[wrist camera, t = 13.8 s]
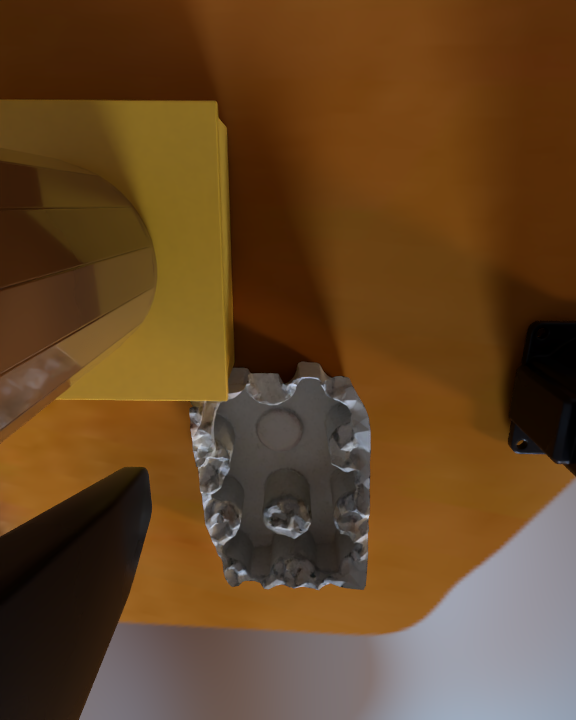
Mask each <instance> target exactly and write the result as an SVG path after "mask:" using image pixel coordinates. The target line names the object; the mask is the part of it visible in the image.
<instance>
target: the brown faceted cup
mask: <svg viewBox="0 0 576 720" xmlns="http://www.w3.org/2000/svg"><path fill="white" fill-rule="evenodd" d="M156 285H157V262H156V255H155V250H154V247H153V243H152V240H151V237H150V235H149V232H148V230H147V227H146V225H145V224H144V222H143V220H142V218H141V217H140V215H139V213H138V212H137V211H136V209H135V208H134V206H133V205H132V204H131V202H130V201H129V200H128V199H127V198H126V197H125V196H124V195H123V194H122V193H121V192H120V191H119V190H118V189H117V188H116V187H114V186H113V185H112V184H111V183H110V182H108V181H107V180H105V179H104V178H102V177H100V176H99V175H97V174H95V173H93V172H91V171H89V170H87V169H85V168H82V167H80V166H77V165H74V164H70V163H67V162H65V161H63V160H60V159H56V158H51V157H46V156H41V155H36V154H30V153H25V152H20V151H15V150H10V149H5V148H0V444H1V443H2V442H3V441H4V440H5V439H7V438H8V437H9V436H10V435H12V434H13V433H14V432H15V431H17V430H18V429H19V428H20V427H22V426H23V425H24V424H25V423H26V422H28V421H29V420H30V419H31V418H33V417H34V416H35V415H36V414H38V413H39V412H40V411H41V410H43V409H44V408H45V407H46V406H47V405H49V404H50V403H51V402H52V401H54V400H55V399H56V398H57V397H59V396H60V395H61V394H62V393H64V392H65V391H66V390H67V389H68V388H70V387H71V386H72V385H73V384H75V383H76V382H77V381H78V380H80V379H81V378H82V377H83V376H84V375H86V374H87V373H88V372H89V371H91V370H92V369H93V368H94V367H96V366H97V365H98V364H99V363H101V362H102V361H103V360H104V359H105V358H107V357H108V356H109V355H110V354H112V353H113V352H114V351H115V350H117V349H118V348H119V347H120V346H121V345H122V344H123V343H124V342H125V341H126V340H127V339H128V338H129V337H130V336H131V335H132V334H133V333H134V332H135V331H136V330H137V329H138V328H139V326H140V325H141V324H142V323H143V321H144V319H145V318H146V316H147V314H148V313H149V310H150V308H151V305H152V303H153V300H154V296H155V292H156Z"/></svg>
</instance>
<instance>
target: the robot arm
mask: <svg viewBox="0 0 576 720" xmlns="http://www.w3.org/2000/svg"><path fill="white" fill-rule="evenodd" d="M542 328H544V333H543V335H541V336H539V337H537V333H538V331H539V330H540V329H542ZM509 417H510V419H511V420H512V421H511V426H510V432H509V438H508V445H509V446H510V448H511V449H512V450H513V451H514V452H516V453H519V454H546V455H547V456H548V457H549V458H550V459H551V460H552V461H554V462H555V463H556V464H563V465H564V466H565V467H566V468H567V469H568V470H569V471H570V472H572V473H573V474H574V475H575V476H576V321H541V320H540V321H536V322H534V323H532V324H531V325H530V326H529V328H528V331H527V335H526V341H525V347H524V352H523V358H522V364H521V366H520V367H519V368H518V369H517V372H516V377H515V383H514V389H513V395H512V401H511V406H510V412H509ZM520 440H524V441H523V443H522V444H521V445H517V443H518V442H519V441H520ZM151 512H152V502H151V492H150V483H149V474H148V471H147V469H146V468H144V467H124V468H122V469H120V470H118V471H116V472H115V473H113V474H111V475H109V476H108V477H106V478H104V479H102V480H100V481H99V482H97V483H95V484H93V485H92V486H90V487H88V488H86V489H84V490H83V491H81V492H79V493H77V494H76V495H74V496H72V497H70V498H68V499H67V500H65V501H63V502H61V503H59V504H58V505H56V506H54V507H52V508H51V509H49V510H47V511H45V512H43V513H42V514H40V515H38V516H36V517H35V518H33V519H31V520H29V521H27V522H26V523H24V524H22V525H20V526H19V527H17V528H15V529H13V530H11V531H10V532H8V533H6V534H4V535H3V536H1V537H0V720H79V718H80V715H81V713H82V710H83V708H84V705H85V703H86V701H87V698H88V696H89V693H90V691H91V688H92V685H93V683H94V681H95V678H96V676H97V673H98V671H99V668H100V666H101V663H102V661H103V658H104V656H105V653H106V651H107V648H108V646H109V643H110V641H111V638H112V636H113V634H114V631H115V628H116V626H117V624H118V621H119V619H120V616H121V614H122V611H123V609H124V606H125V604H126V601H127V598H128V595H129V593H130V590H131V586H132V583H133V580H134V576H135V572H136V569H137V565H138V562H139V558H140V554H141V551H142V547H143V544H144V540H145V536H146V533H147V529H148V526H149V522H150V518H151Z"/></svg>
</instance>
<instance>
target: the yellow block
mask: <svg viewBox="0 0 576 720" xmlns="http://www.w3.org/2000/svg"><path fill="white" fill-rule="evenodd" d="M0 148H5V149H10V150H15V151H20V152H25V153H30V154H36V155H41V156H46V157H51V158H56V159H60V160H63V161H65V162H67V163H70V164H74V165H77V166H80V167H82V168H85V169H87V170H89V171H91V172H93V173H95V174H97V175H99V176H100V177H102V178H104V179H105V180H107V181H108V182H110V183H111V184H112V185H113V186H114V187H116V188H117V189H118V190H119V191H120V192H121V193H122V194H123V195H124V196H125V197H126V198H127V199H128V200H129V201H130V202H131V204H132V205H133V206H134V208H135V209H136V211H137V212H138V213H139V215H140V217H141V218H142V220H143V222H144V224H145V225H146V227H147V230H148V232H149V235H150V237H151V240H152V243H153V247H154V250H155V255H156V262H157V285H156V292H155V296H154V300H153V303H152V305H151V308H150V310H149V313H148V314H147V316H146V318H145V319H144V321H143V323H142V324H141V325H140V326H139V328H138V329H137V330H136V331H135V332H134V333H133V334H132V335H131V336H130V337H129V338H128V339H127V340H126V341H125V342H124V343H123V344H122V345H121V346H120V347H119V348H118V349H117V350H115V351H114V352H113V353H112V354H110V355H109V356H108V357H107V358H105V359H104V360H103V361H102V362H101V363H99V364H98V365H97V366H96V367H94V368H93V369H92V370H91V371H89V372H88V373H87V374H86V375H84V376H83V377H82V378H81V379H80V380H78V381H77V382H76V383H75V384H73V385H72V386H71V387H70V388H68V389H67V390H66V391H65V392H64V393H62V394H61V395H60V396H59V397H57V398H56V399H80V400H165V401H227V400H228V397H229V395H228V379H229V376H230V373H231V371H232V368H233V366H234V363H235V360H234V328H233V296H232V265H231V233H230V201H229V170H228V138H227V127H226V126H225V125H224V124H223V122H222V121H221V120H220V119H219V118H218V103H217V102H216V101H215V100H20V99H0Z"/></svg>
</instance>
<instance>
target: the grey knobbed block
mask: <svg viewBox="0 0 576 720" xmlns="http://www.w3.org/2000/svg"><path fill="white" fill-rule="evenodd" d="M228 395H229V397H228V400H227V401H190V402H191V404H192V406H193V407H191V408H190V411H189V414H190V420H191V426H190V429H191V437H192V440H193V452H194V457H195V461H196V466H197V467H198V470H199V482H200V492H201V493H202V499H203V507H204V515H205V524H206V527H207V529H208V531H209V534H210V537H211V539H212V541H213V543H214V545H215V546H216V550H217V553H218V555H219V556H220V557H221V559H222V561H223V571H224V575H225V578H226V580H227V581H228V583H229V584H230V585H231V586H232V587H234V586H239V585H240V584H241V583H242V582H243V581H257V582H260V583H261V584H262V586H263V588H264V589H270V588H272V587H274V586H276V585H280V584H283V585H286V586H289V587H292V588H297V587H302V586H303V587H308V588H314V589H317V590H319V589H320V588H321V587H323V586H324V585H326V584H329V583H331V584H334V585H337V586H340V587H344V588H351V589H360V590H363V589H364V588H365V586H366V574H367V560H368V532H369V526H368V518H369V515H370V492H369V487H370V453H371V450H370V424H369V417H368V414H367V412H366V409H365V407H364V405H363V403H362V402H361V400H360V398H359V396H358V395H357V393H356V391H355V389H354V388H353V386H352V384H351V381H350V379H349V378H347V377H344V376H336V377H333V378H331V377H329V376H327V375H326V373H325V372H324V371H323V370H322V368H321V366H320V364H318V363H309V362H303V361H302V362H300V363H298V366H297V370H296V373H295V376H294V377H293V378H292V380H290V381H289V382H288V383H286V384H283V382H282V380H281V378H280V376H279V374H274V373H251V374H250V372H249V370H248V369H247V368H244V367H243V368H232V371H231V373H230V376H229V379H228Z"/></svg>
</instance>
